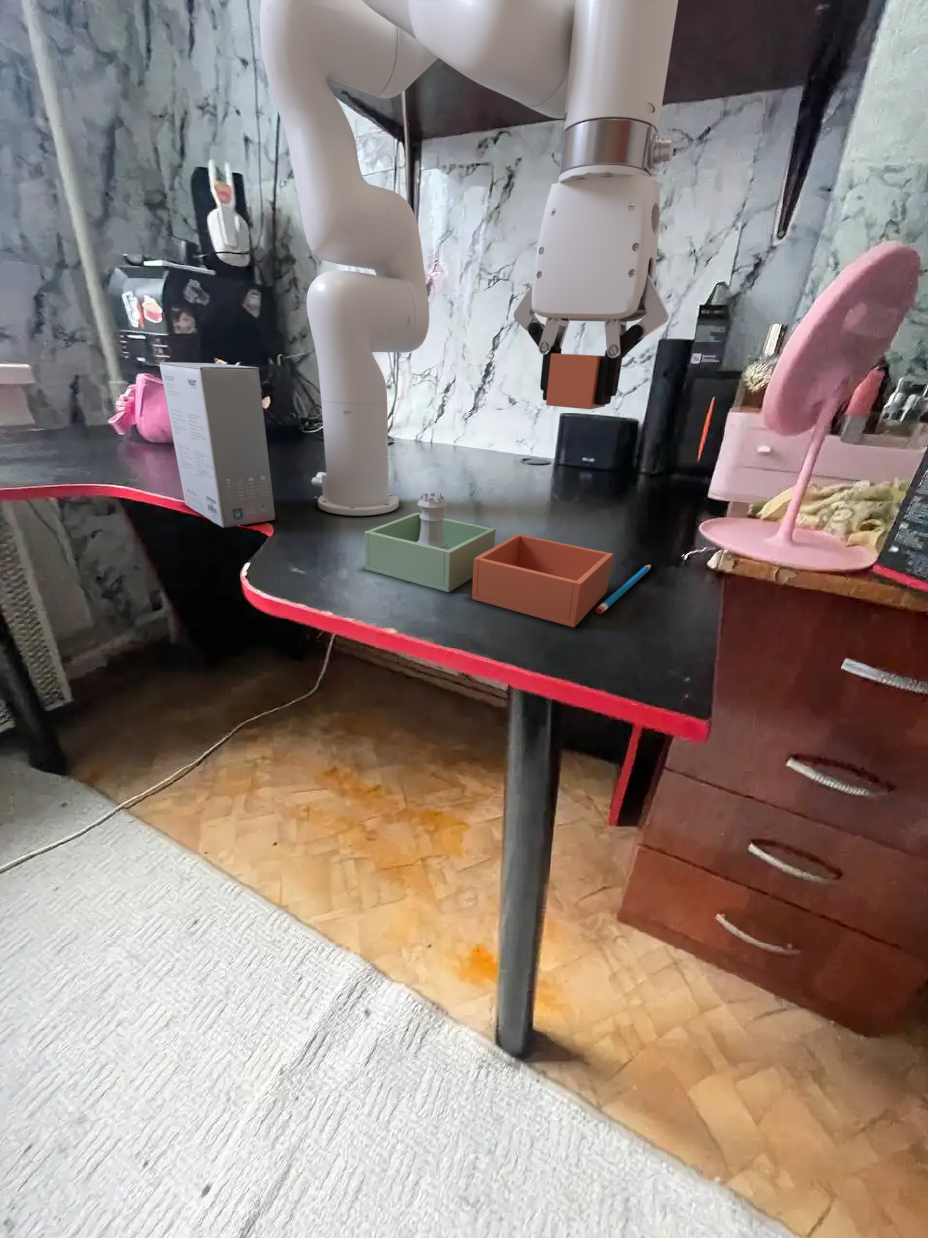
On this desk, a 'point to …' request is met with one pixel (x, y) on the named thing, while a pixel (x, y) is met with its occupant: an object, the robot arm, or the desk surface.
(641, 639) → the desk surface
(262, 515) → the hard drive box
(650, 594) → the desk surface
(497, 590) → the terracotta bin
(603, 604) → the pencil
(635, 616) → the desk surface
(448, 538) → the sage bin
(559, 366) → the terracotta block
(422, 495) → the rook chess piece
